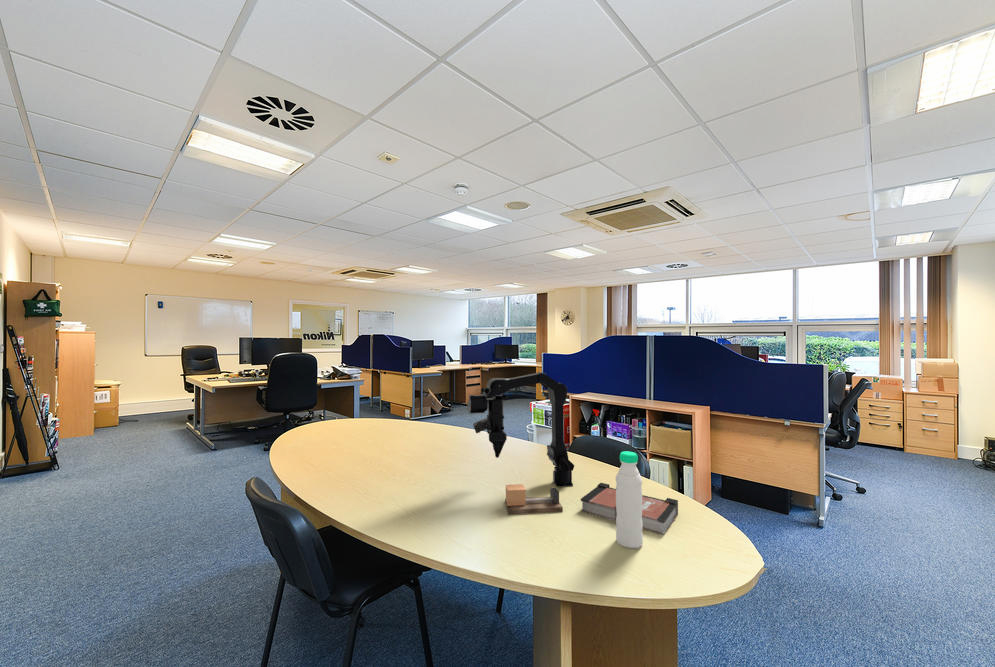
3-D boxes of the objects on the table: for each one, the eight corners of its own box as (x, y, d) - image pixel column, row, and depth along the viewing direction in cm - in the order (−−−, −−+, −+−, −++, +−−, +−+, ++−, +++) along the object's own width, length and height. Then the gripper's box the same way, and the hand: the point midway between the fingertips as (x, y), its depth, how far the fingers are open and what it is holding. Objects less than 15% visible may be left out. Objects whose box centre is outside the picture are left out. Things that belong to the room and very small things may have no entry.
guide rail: (556, 499, 136) (556, 487, 136) (559, 504, 132) (559, 492, 132) (507, 501, 134) (507, 489, 134) (509, 506, 130) (508, 494, 130)
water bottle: (629, 552, 105) (628, 458, 105) (610, 540, 111) (610, 451, 111) (648, 545, 108) (647, 454, 108) (628, 534, 114) (628, 448, 115)
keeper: (523, 499, 135) (522, 484, 135) (525, 505, 130) (525, 489, 130) (505, 500, 134) (505, 484, 134) (507, 506, 129) (507, 490, 130)
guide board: (555, 500, 138) (555, 496, 138) (562, 511, 129) (562, 507, 129) (505, 503, 136) (505, 498, 136) (508, 514, 127) (508, 509, 127)
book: (579, 513, 129) (579, 498, 129) (600, 496, 143) (600, 482, 143) (663, 537, 113) (663, 520, 113) (678, 515, 127) (677, 500, 127)
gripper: (473, 408, 156) (474, 447, 156) (474, 417, 138) (475, 462, 137) (501, 407, 157) (501, 446, 157) (506, 416, 139) (506, 461, 138)
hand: (496, 453), depth 147 cm, fingers open, 9 cm apart
